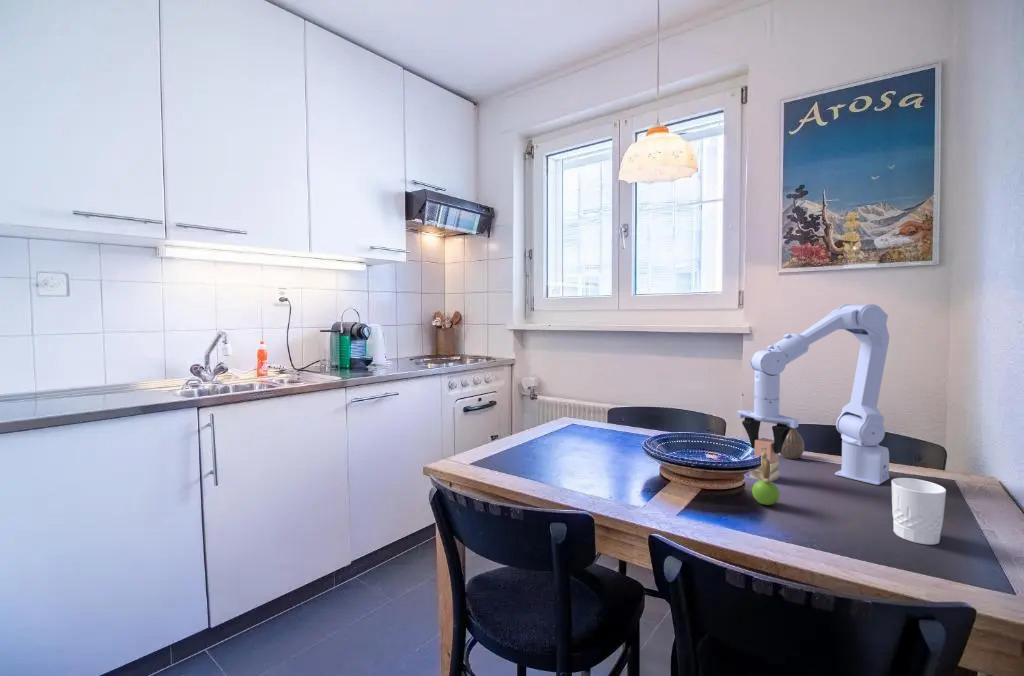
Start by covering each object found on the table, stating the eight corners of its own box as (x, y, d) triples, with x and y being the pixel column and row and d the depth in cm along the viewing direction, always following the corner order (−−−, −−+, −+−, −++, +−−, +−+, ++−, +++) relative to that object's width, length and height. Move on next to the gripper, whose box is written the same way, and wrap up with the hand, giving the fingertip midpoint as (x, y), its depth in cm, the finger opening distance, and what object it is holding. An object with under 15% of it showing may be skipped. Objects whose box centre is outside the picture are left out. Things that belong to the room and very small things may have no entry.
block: (778, 460, 122) (778, 441, 122) (769, 463, 120) (770, 444, 119) (762, 456, 125) (763, 437, 125) (754, 459, 123) (754, 440, 123)
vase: (796, 453, 142) (797, 424, 142) (808, 460, 135) (809, 430, 135) (772, 453, 143) (773, 424, 142) (783, 460, 136) (783, 430, 135)
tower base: (779, 479, 122) (779, 470, 122) (769, 484, 120) (769, 474, 119) (759, 474, 127) (760, 464, 126) (749, 478, 124) (749, 468, 124)
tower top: (778, 469, 123) (778, 460, 122) (770, 474, 119) (771, 464, 119) (758, 465, 126) (758, 455, 126) (750, 469, 123) (750, 460, 123)
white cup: (879, 528, 95) (880, 478, 94) (916, 525, 95) (917, 476, 95) (916, 548, 87) (918, 494, 86) (956, 545, 87) (958, 492, 87)
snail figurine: (775, 499, 110) (776, 447, 109) (781, 510, 103) (782, 456, 103) (749, 496, 111) (750, 445, 110) (753, 507, 105) (754, 454, 104)
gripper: (731, 395, 125) (730, 446, 126) (789, 404, 114) (788, 460, 114) (745, 392, 129) (744, 441, 130) (802, 400, 118) (801, 454, 118)
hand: (765, 450), depth 123 cm, fingers open, 5 cm apart
